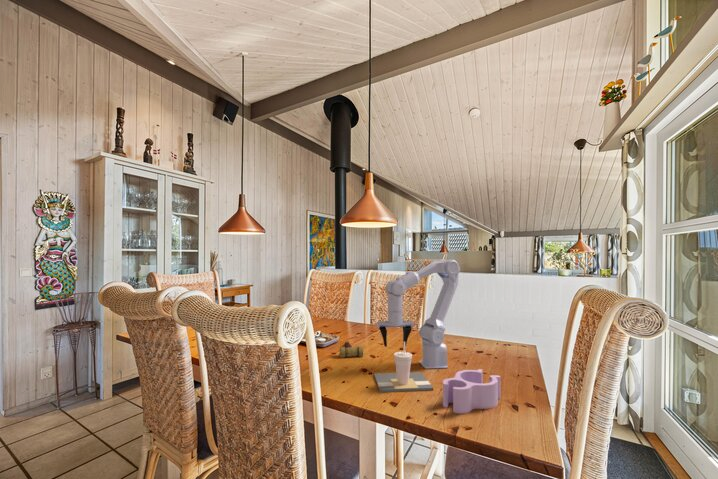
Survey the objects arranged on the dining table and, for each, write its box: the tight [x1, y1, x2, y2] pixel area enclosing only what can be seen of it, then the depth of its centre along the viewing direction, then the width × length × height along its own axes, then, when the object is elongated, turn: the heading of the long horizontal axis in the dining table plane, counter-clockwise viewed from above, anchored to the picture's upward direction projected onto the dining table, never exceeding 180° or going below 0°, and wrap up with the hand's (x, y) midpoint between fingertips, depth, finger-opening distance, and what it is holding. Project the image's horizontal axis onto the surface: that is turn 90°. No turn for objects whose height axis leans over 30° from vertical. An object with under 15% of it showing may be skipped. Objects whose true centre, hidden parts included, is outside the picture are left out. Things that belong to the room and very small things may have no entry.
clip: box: [442, 368, 502, 415], centre depth 99 cm, size 20×12×7 cm, turn 123°
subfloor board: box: [373, 371, 434, 393], centre depth 112 cm, size 18×14×1 cm
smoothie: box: [393, 342, 413, 385], centre depth 110 cm, size 6×6×14 cm
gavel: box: [339, 341, 364, 359], centre depth 148 cm, size 21×5×10 cm
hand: (395, 345), depth 124 cm, fingers open, 7 cm apart
